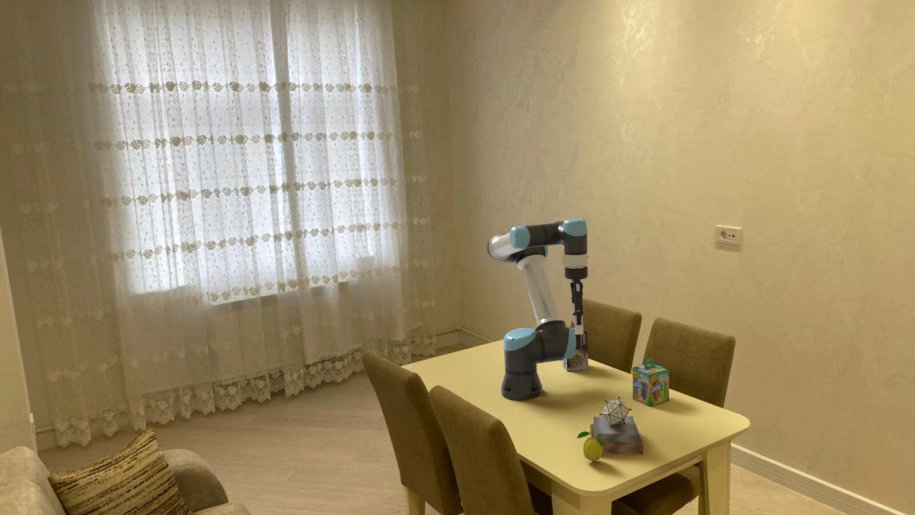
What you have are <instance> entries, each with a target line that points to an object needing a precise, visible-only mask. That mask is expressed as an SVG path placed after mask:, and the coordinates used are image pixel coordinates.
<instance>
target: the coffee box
mask: <svg viewBox="0 0 915 515" xmlns="http://www.w3.org/2000/svg"><path fill="white" fill-rule="evenodd" d="M571 328H572V329H573V330H574V333H575V326H574V327H571ZM575 337H576V348H575V353H574V355H573V356H572V357H571V358H569V359H565V360H562V361H561V362H562V363H561V364H562V367H563V369H564V370H565V371H566V372H574V371H581V370H582V371H583V370H589V350H588V349H589V347H588V345H589V344H588V330H586V328H585V327H583V334H575Z"/></svg>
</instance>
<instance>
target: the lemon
mask: <svg viewBox="0 0 915 515" xmlns="http://www.w3.org/2000/svg"><path fill="white" fill-rule="evenodd" d="M591 433H592V437H591V436H590V437H588V438H587V439H585V440H584V443H583V446H582V452H583V455H584V458H586V459H587V460H588V461H591V463H595V462H596V461H599V460H601V458H602V457H603V456H602V455H603V454H602V453H603V449H602V445H601V443H600V441H601V442H602V443H603V444H604V445H605V443H604V441H603V440H602V439H601V438H599V437H596V436H594V435H593V429H592V432H591ZM589 435H591V434H590V432H588V431H585V430H584V431H581V432H580V433H578V434H577V437H576V439H582V438H585V437H587V436H589ZM593 436H594V437H596V438H594V437H593ZM605 447H606V445H605ZM606 448H607V447H606Z"/></svg>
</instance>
